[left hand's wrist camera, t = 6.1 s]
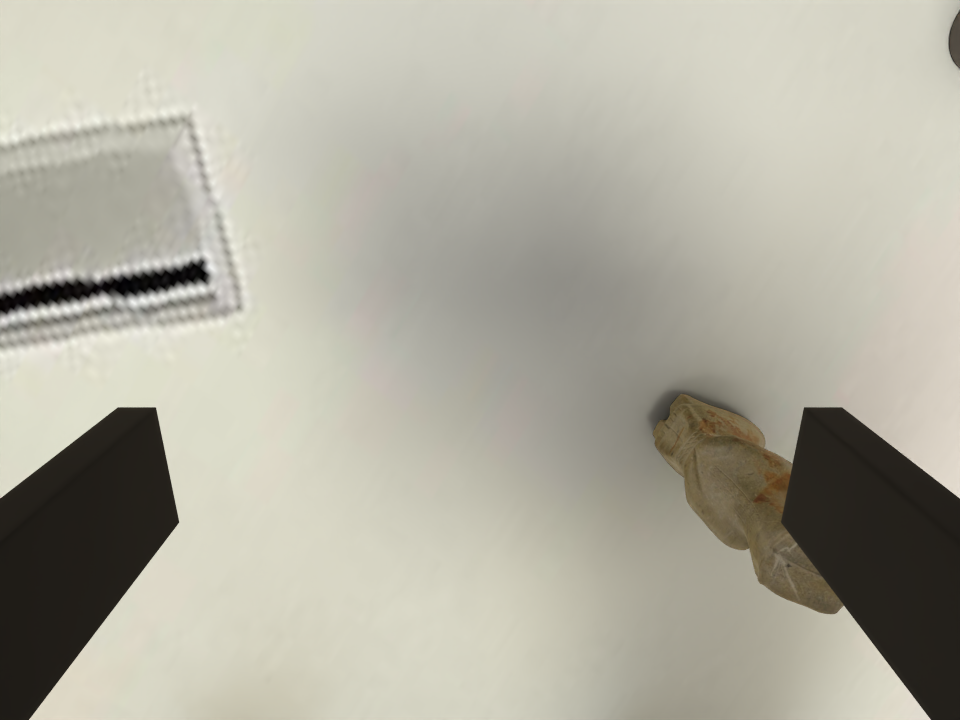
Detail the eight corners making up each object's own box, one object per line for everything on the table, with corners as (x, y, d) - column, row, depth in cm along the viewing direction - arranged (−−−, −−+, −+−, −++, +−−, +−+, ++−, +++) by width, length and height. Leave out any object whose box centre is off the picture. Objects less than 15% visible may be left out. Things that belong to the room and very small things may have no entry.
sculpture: (712, 482, 44) (823, 649, 30) (630, 435, 42) (704, 586, 28) (766, 418, 42) (911, 563, 28) (682, 367, 41) (789, 492, 27)
